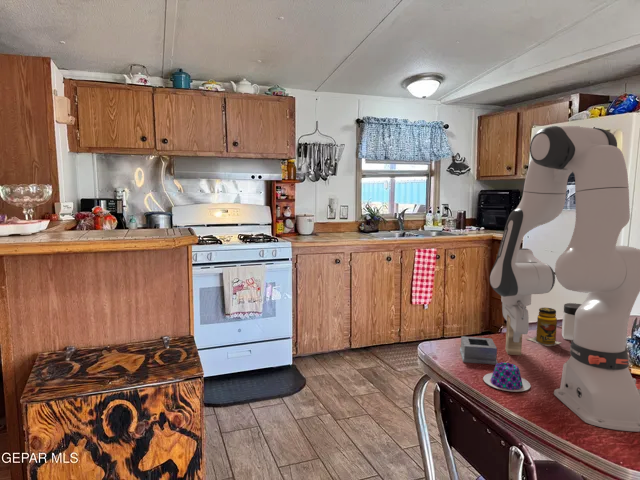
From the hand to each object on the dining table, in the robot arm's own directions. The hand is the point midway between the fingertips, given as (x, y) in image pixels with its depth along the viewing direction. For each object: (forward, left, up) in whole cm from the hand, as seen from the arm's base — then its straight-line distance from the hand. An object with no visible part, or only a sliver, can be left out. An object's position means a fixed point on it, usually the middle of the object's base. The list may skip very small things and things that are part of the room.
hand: (513, 338), depth 141 cm
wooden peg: (0, 0, -5) cm, 5 cm away
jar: (+20, -25, -5) cm, 32 cm away
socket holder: (-7, +12, -5) cm, 15 cm away
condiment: (+14, -13, -5) cm, 20 cm away
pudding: (-25, +7, -5) cm, 26 cm away
